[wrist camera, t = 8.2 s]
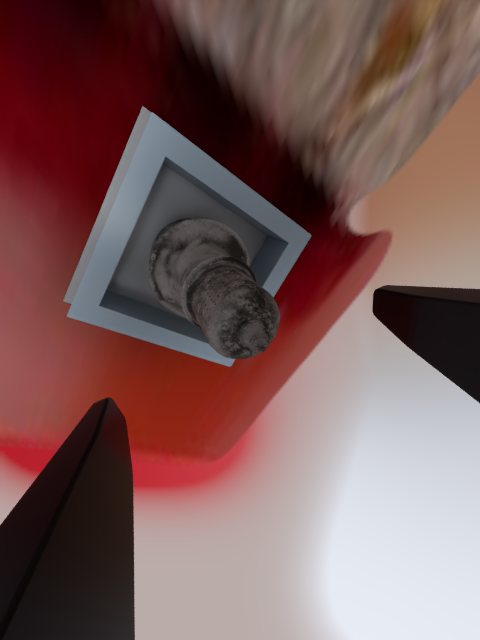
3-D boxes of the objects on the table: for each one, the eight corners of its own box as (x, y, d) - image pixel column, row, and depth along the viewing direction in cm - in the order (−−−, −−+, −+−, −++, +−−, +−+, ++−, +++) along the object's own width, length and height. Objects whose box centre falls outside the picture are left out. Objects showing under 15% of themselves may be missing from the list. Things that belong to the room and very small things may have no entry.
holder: (142, 110, 14) (144, 87, 11) (291, 224, 20) (322, 231, 17) (66, 295, 17) (49, 322, 14) (218, 348, 23) (233, 375, 20)
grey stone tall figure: (131, 278, 17) (126, 409, 7) (169, 193, 16) (231, 201, 6) (208, 310, 20) (283, 433, 10) (245, 240, 19) (377, 301, 8)
